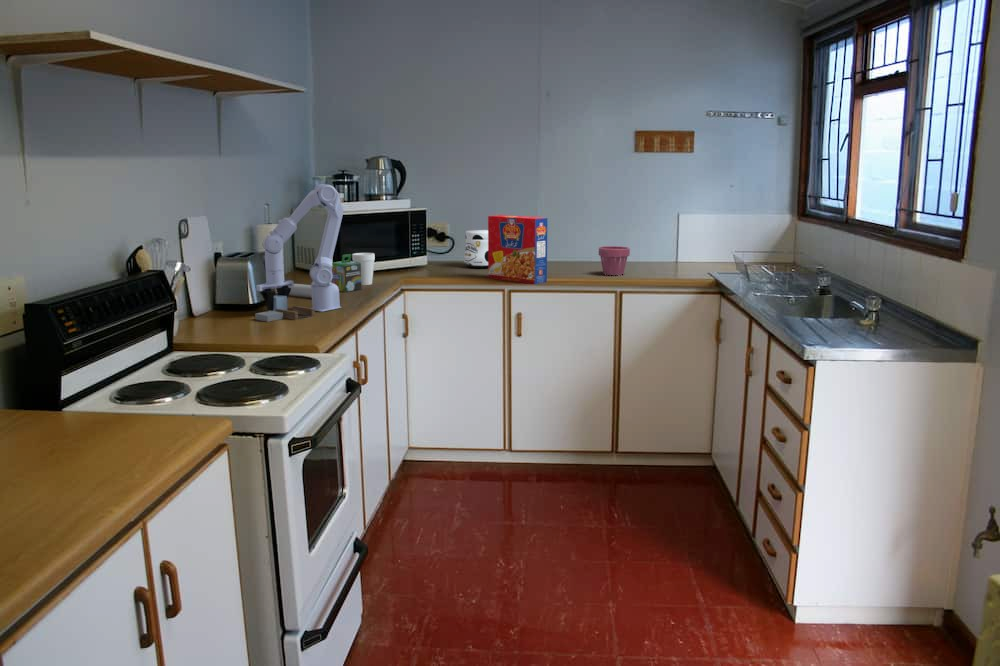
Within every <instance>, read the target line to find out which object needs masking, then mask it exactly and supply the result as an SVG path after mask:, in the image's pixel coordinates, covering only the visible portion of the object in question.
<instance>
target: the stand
mask: <svg viewBox="0 0 1000 666" xmlns="http://www.w3.org/2000/svg"><path fill="white" fill-rule="evenodd" d="M254 316H255V320H257V321H262V322H266V323H267V322H268V323H269V322H272V321H273V322H274V321H278V320H283V319H284V318H283V313H281V312H275V311H269V310H268V311H263V312H257V313H255V315H254Z"/></svg>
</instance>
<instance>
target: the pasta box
mask: <svg viewBox="0 0 1000 666" xmlns="http://www.w3.org/2000/svg"><path fill="white" fill-rule="evenodd" d="M487 230H488V267H487V268H488V269H487V270H488V273H487V275H488V276H487V277H488V279H493V280H494V279H495V280H500V281H501V280H502V281H508V282H517V283H523V284H530V285H538V284H545V283H547V282H548V217H540V216H539V217H536V216H535V217H534V216H533V217H532V216H520V215H503V214H502V215H501V214H499V215H488V216H487Z"/></svg>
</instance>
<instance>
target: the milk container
mask: <svg viewBox="0 0 1000 666" xmlns="http://www.w3.org/2000/svg"><path fill="white" fill-rule="evenodd" d="M464 241H465V249H464V252H463V253H464V254H463V255H464V256H463V262H464V265H465V266H466V267H470V268H476V269H477V268H478V269H483V268H488V229H469V230H466V231H465V240H464Z"/></svg>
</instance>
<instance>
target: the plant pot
mask: <svg viewBox="0 0 1000 666" xmlns="http://www.w3.org/2000/svg"><path fill="white" fill-rule="evenodd" d="M630 251H631V249H630V247H627V246H617V245H615V246H614V245H607V246H605V245H604V246H599V247H598V256H599V257H600V262H601V267H602V273H603V275H604V274H607V275H606V276H608V275H622V274H623V275H624V273H625V269H626V266H627V261H628V257H629V256H630ZM623 275H622V276H623Z"/></svg>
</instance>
